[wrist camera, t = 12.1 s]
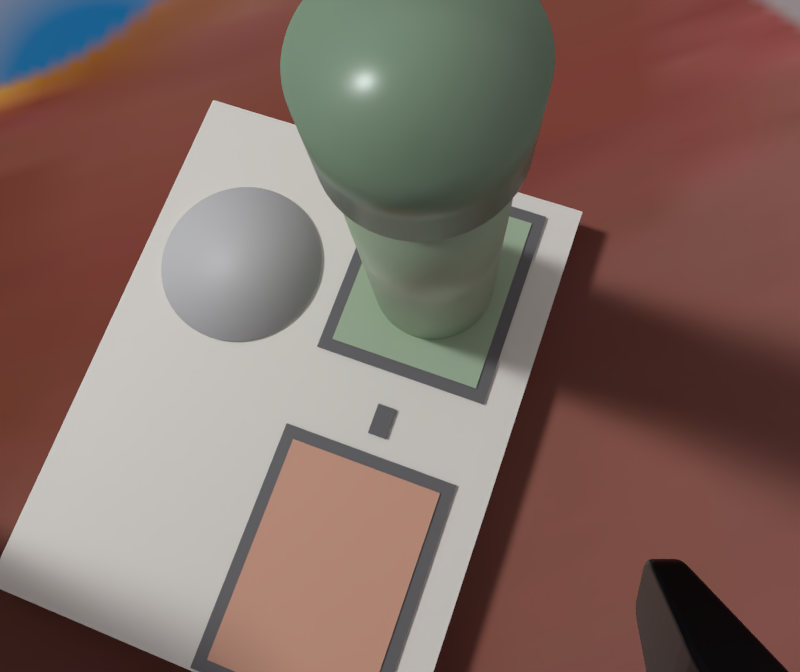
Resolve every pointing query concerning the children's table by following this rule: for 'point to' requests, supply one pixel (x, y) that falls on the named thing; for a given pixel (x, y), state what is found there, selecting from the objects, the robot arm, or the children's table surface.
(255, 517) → the white flat rectangular board
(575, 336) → the children's table surface
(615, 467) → the children's table surface
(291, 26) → the green joystick knob
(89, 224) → the children's table surface
